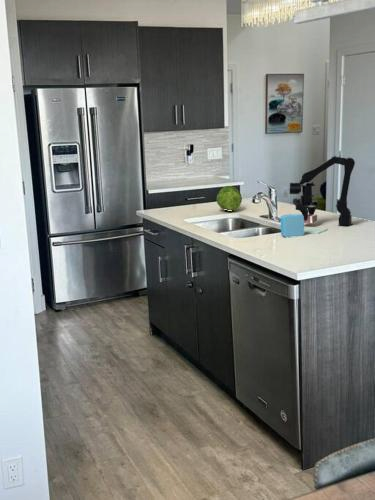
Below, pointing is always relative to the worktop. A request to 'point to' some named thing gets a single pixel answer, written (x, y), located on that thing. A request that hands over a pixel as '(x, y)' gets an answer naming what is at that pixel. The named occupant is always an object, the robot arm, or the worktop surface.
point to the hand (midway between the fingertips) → (308, 219)
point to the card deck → (311, 218)
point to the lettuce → (229, 198)
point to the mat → (314, 230)
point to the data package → (292, 225)
